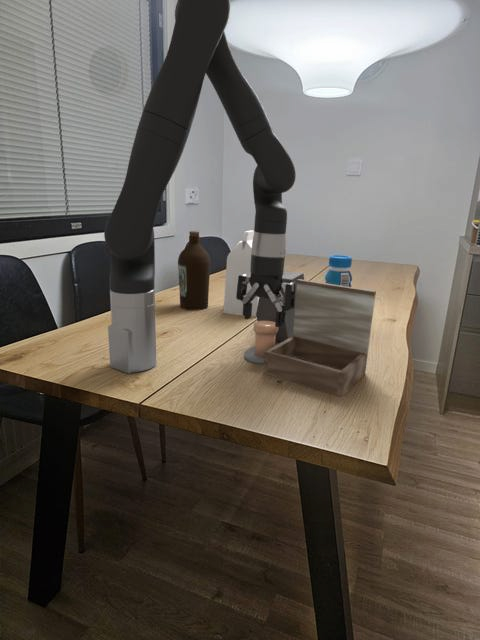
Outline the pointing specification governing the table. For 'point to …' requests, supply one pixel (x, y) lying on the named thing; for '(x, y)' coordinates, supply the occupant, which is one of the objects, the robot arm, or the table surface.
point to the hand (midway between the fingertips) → (262, 322)
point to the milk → (238, 266)
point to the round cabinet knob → (264, 336)
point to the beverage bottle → (339, 270)
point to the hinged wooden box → (325, 338)
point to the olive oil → (194, 275)
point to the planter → (268, 310)
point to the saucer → (253, 356)
